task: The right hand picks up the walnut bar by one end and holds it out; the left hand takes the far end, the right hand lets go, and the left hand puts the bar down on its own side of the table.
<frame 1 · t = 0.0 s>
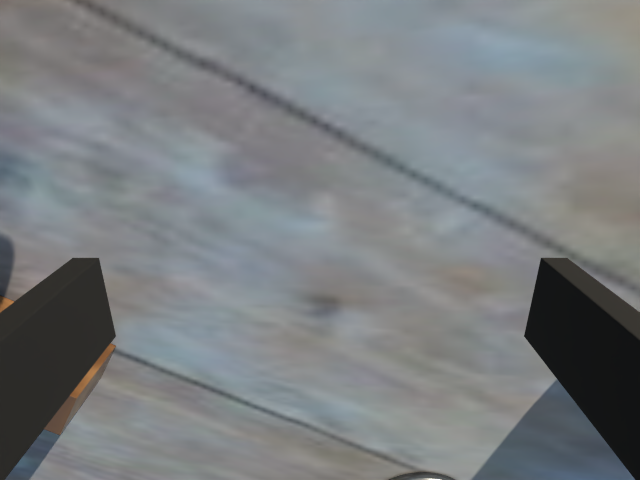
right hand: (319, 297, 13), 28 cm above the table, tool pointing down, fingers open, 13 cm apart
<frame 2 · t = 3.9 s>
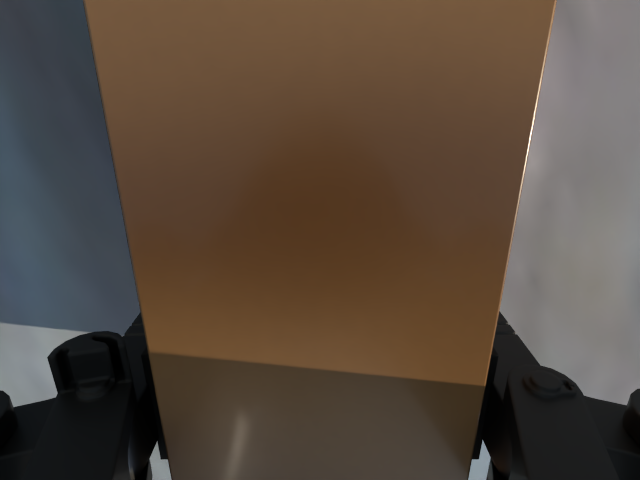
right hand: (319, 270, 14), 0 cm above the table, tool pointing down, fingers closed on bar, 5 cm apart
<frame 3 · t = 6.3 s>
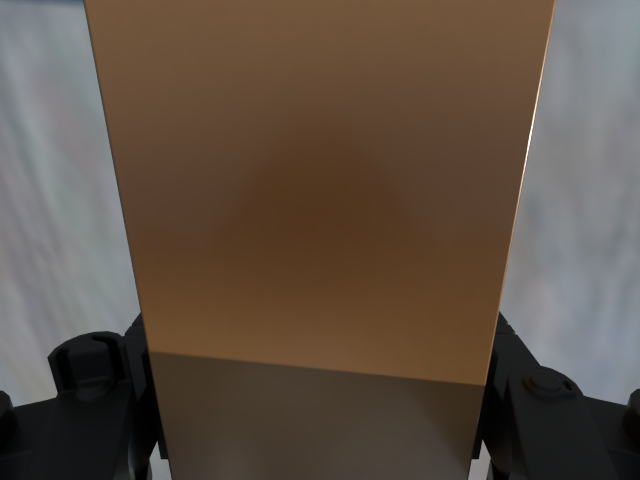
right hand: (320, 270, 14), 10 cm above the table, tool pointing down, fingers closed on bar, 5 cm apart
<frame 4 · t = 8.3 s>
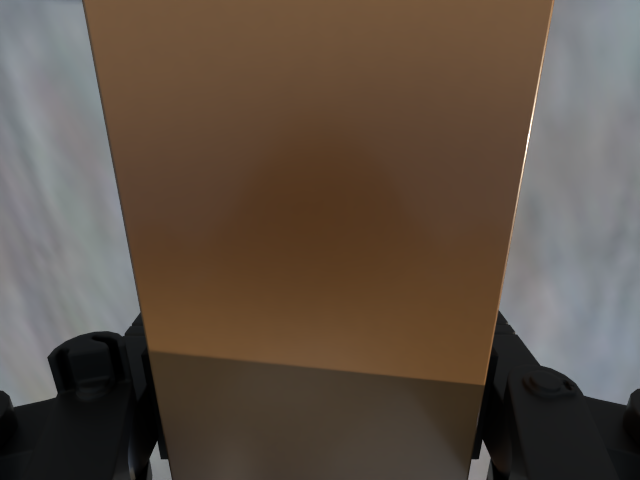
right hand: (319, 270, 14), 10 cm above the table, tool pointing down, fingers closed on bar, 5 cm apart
when the right hand's fingers open (10 cm above the table, at t = 9.0 s): bar stays where it is, held by the left hand.
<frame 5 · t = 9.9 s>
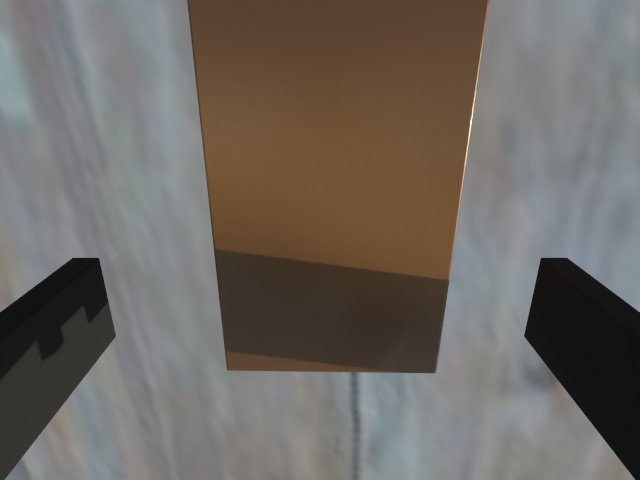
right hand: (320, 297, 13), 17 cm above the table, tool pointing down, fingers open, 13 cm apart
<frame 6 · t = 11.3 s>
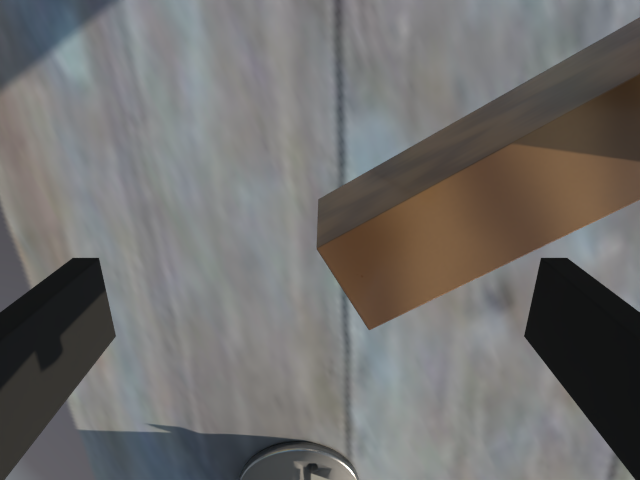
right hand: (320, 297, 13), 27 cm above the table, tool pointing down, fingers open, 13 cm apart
bar: (520, 133, 26), point 12 cm above the table, touching left hand
when the left hand's fingers open (2 cm above the table, at t = 14.4 s): bar drops 1 cm, on the table.
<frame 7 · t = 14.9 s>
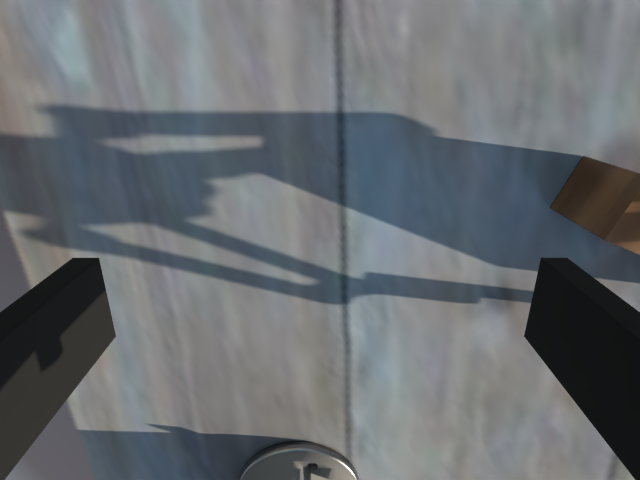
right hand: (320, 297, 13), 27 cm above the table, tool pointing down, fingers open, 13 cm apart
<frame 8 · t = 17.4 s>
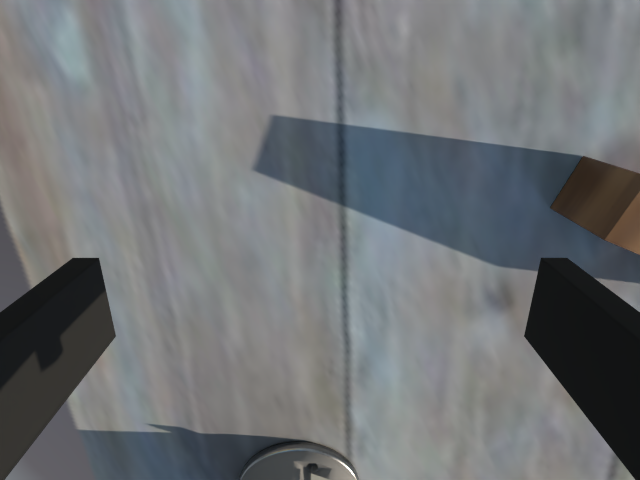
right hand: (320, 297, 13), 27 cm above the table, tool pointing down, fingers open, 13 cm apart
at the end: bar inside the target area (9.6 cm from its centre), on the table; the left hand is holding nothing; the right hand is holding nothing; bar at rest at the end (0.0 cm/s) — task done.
